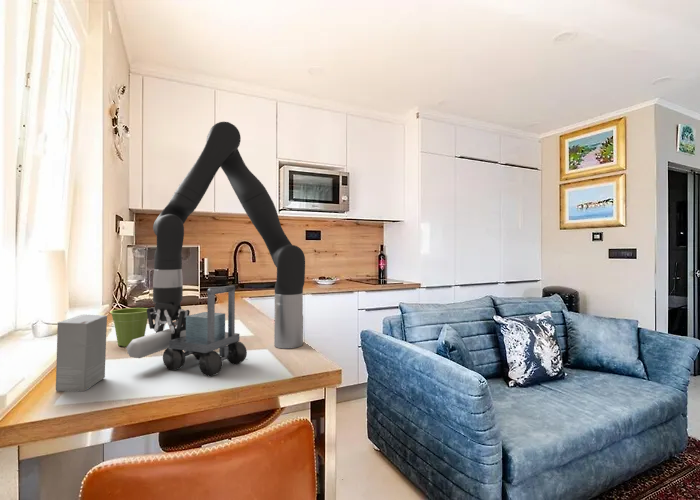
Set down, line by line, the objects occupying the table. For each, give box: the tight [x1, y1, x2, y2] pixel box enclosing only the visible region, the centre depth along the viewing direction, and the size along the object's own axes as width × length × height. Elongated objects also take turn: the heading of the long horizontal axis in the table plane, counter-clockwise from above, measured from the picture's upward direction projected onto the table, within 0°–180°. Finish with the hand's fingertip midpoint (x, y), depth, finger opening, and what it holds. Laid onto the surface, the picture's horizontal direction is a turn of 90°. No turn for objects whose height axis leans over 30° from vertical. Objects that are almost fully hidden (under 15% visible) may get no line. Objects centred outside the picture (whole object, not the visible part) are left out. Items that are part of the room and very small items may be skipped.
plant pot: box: [109, 307, 148, 347], centre depth 120 cm, size 12×12×11 cm
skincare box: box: [55, 314, 108, 392], centre depth 84 cm, size 8×7×16 cm
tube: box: [126, 327, 186, 359], centre depth 103 cm, size 5×5×25 cm
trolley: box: [162, 284, 248, 377], centre depth 98 cm, size 13×18×22 cm
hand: (167, 344), depth 103 cm, fingers closed on tube, 5 cm apart
